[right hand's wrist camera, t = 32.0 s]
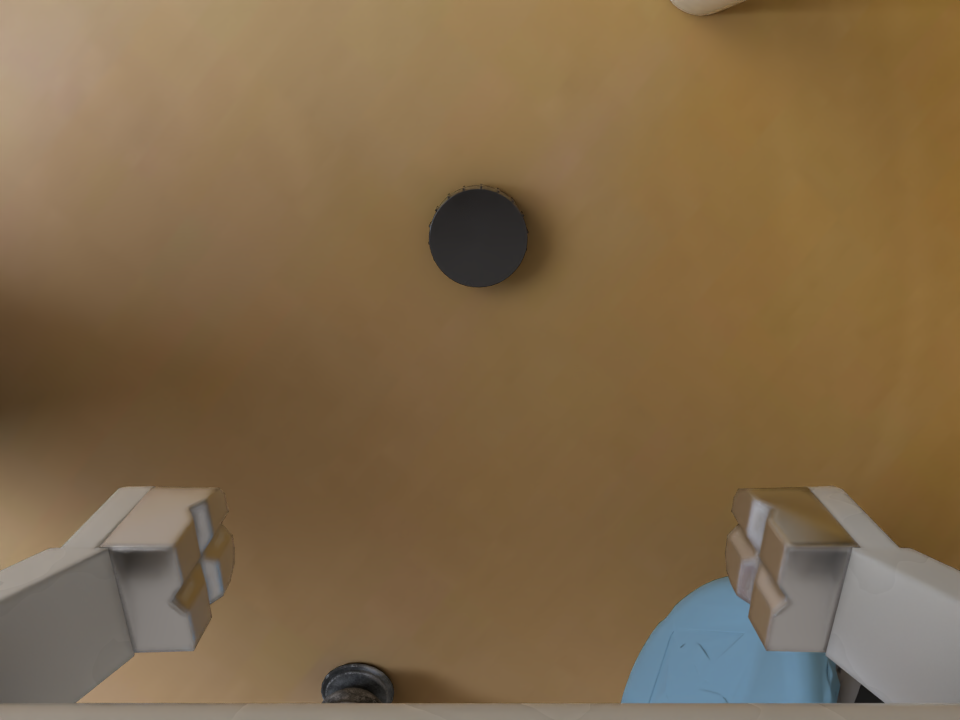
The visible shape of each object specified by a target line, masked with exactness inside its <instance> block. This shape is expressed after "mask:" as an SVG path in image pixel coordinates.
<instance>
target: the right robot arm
mask: <svg viewBox="0 0 960 720" xmlns="http://www.w3.org/2000/svg"><path fill="white" fill-rule="evenodd" d="M228 512H229V511H228V506H227V501H226V496H225V493H224V492H223V491H222V490H221V489H220V488H212V487H162V486H158V487H155V486H127V487H122V488H118V489H117V490H116V492H115V493H114V494H113V495H112V496H111V497H110V498H109V499H108V500H107V501H106V502H105V503H104V504H103V505H102V506H101V507H100V508H99V509H98V510H97V511H96V512H95V513H94V514H93V515H92V516H91V517H90V518H89V519H88V520H87V521H86V522H85V523H84V524H83V525H82V526H81V527H80V528H79V529H78V530H77V531H76V532H75V534H74V535H73V536H72V537H71V538H70V539H69V540H68V541H67V542H66V543H65V544H64V545H63V546H62V547H61V548H49V549H47V550H44V551H42V552H40V553H38V554H36V555H33V556H31V557H29V558H27V559H25V560H23V561H20V562H18V563H16V564H14V565H12V566H9V567H7V568H5V569H3V570H1V571H0V720H960V571H959V570H957V569H955V568H953V567H950V566H948V565H946V564H944V563H942V562H940V561H937V560H935V559H933V558H931V557H929V556H927V555H924V554H922V553H920V552H918V551H916V550H913V549H911V548H899V547H898V546H897V545H896V544H895V543H894V542H893V541H892V540H891V539H890V538H889V537H888V535H887V534H886V533H885V532H884V531H883V530H882V529H881V528H880V527H879V526H878V525H877V524H876V523H875V522H874V521H873V520H872V519H871V518H870V517H869V516H868V515H867V514H866V513H865V512H864V511H863V510H862V509H861V508H860V507H859V506H858V505H857V504H856V503H855V502H854V501H853V500H852V499H851V497H850V496H849V495H848V494H847V493H846V492H845V491H844V490H843V489H841V488H838V487H836V486H814V487H787V488H747V489H738V490H737V492H736V494H735V496H734V499H733V505H732V510H731V512H732V513H733V515H734V517H735V518H736V520H737V521H738V523H739V524H738V525H737V526H736V527H735V528H734V529H733V530H732V531H731V532H730V533H729V534H728V535H727V542H726V550H725V558H726V569H727V574H728V577H729V580H730V584H731V586H732V588H733V589H734V591H735V593H736V595H737V596H738V597H739V598H741V599H742V600H744V601H745V602H747V603H748V604H750V608H749V614H748V618H749V620H750V622H751V624H752V625H753V627H754V629H755V631H756V633H757V635H758V636H759V638H760V640H761V642H762V644H763V646H764V648H765V649H766V651H784V652H820V653H826V656H827V657H828V658H829V659H831V660H832V661H833V662H834V663H836V664H837V665H838V666H839V667H841V668H842V669H843V670H844V671H846V672H847V673H848V674H849V675H851V676H852V677H853V678H854V679H856V680H857V681H858V682H859V683H861V684H862V685H863V686H864V687H866V688H867V689H868V690H869V691H871V692H872V693H873V694H874V695H876V696H877V697H878V698H879V699H881V700H882V701H883V702H884V703H76V702H77V701H78V700H80V699H81V698H82V697H83V696H85V695H86V694H87V693H88V692H90V691H91V690H92V689H93V688H95V687H96V686H97V685H98V684H100V683H101V682H102V681H103V680H105V679H106V678H107V677H108V676H110V675H111V674H112V673H113V672H115V671H116V670H117V669H118V668H120V667H121V666H122V665H123V664H125V663H126V662H127V661H128V660H130V659H131V658H132V657H133V656H134V653H140V652H175V651H194V649H195V648H196V646H197V644H198V642H199V640H200V638H201V637H202V635H203V633H204V631H205V629H206V627H207V625H208V624H209V622H210V620H211V618H212V614H211V608H210V604H212V603H213V602H215V601H216V600H218V599H219V598H221V597H222V596H223V595H224V593H225V591H226V589H227V587H228V585H229V583H230V581H231V577H232V572H233V568H234V562H235V547H234V541H233V535H232V534H231V533H230V532H229V531H228V530H227V529H226V528H225V527H224V526H223V525H222V524H221V523H222V521H223V520H224V518H225V517H226V515H227V513H228Z"/></svg>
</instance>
